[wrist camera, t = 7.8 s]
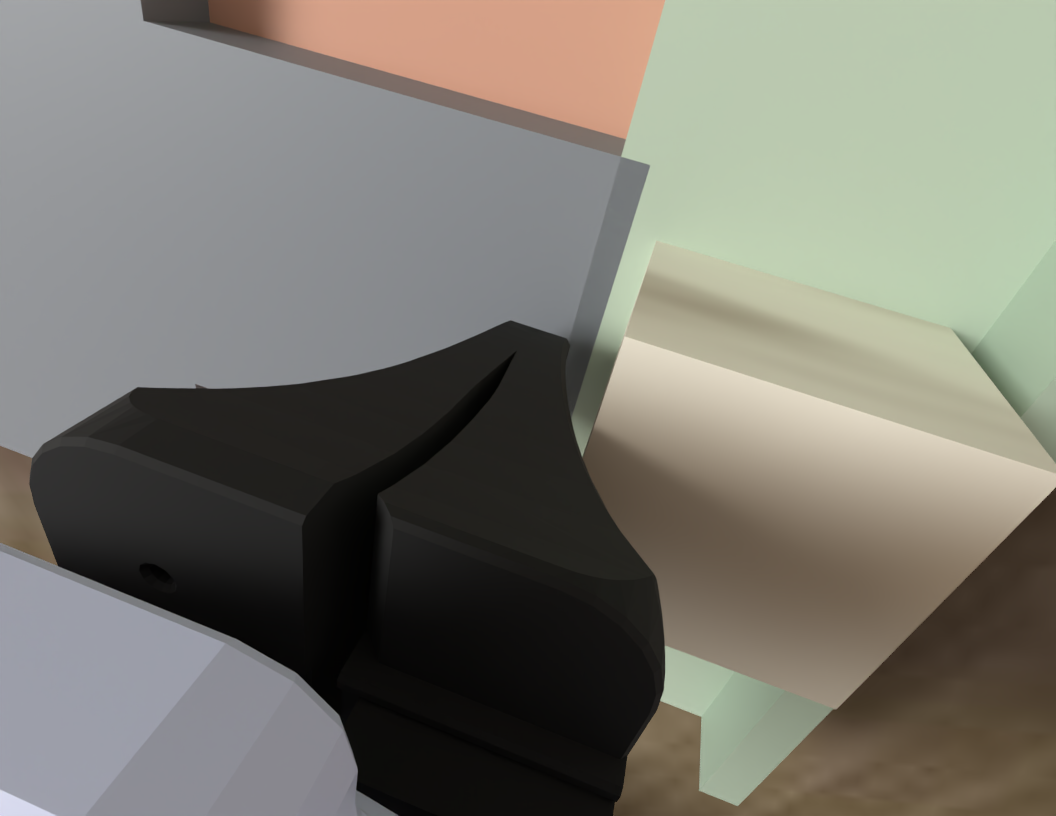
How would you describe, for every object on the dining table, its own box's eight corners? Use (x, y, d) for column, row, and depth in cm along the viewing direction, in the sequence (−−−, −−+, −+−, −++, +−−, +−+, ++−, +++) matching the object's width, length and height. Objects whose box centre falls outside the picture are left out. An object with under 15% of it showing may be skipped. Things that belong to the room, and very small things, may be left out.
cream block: (806, 534, 13) (835, 709, 9) (582, 456, 13) (535, 596, 10) (950, 328, 10) (1065, 476, 6) (656, 240, 10) (624, 336, 7)
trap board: (735, 667, 18) (737, 806, 15) (-5, 390, 21) (-138, 455, 18) (1349, -164, 7) (1844, -322, 4) (-341, -495, 10) (-831, -737, 7)
